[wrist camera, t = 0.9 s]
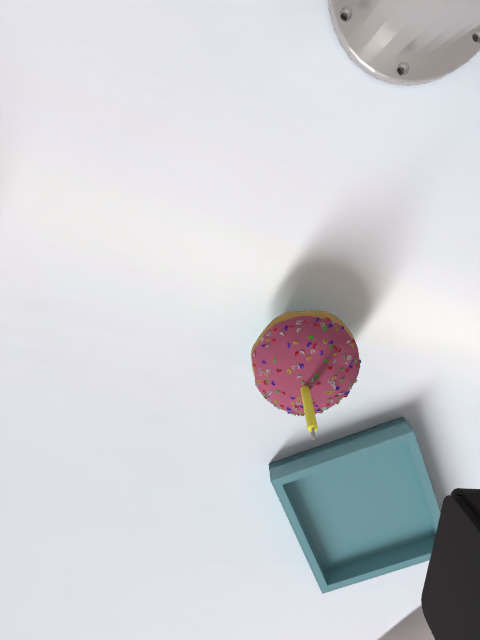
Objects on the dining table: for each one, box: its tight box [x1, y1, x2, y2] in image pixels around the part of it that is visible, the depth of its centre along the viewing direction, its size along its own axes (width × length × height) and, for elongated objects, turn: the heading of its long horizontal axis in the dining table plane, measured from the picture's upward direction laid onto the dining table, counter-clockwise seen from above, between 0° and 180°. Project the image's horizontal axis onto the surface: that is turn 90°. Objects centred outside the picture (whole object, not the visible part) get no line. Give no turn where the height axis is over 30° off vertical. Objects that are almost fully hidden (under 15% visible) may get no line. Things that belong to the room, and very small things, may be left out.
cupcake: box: [251, 310, 361, 440], centre depth 31 cm, size 9×8×12 cm
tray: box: [269, 417, 441, 594], centre depth 40 cm, size 14×15×2 cm
